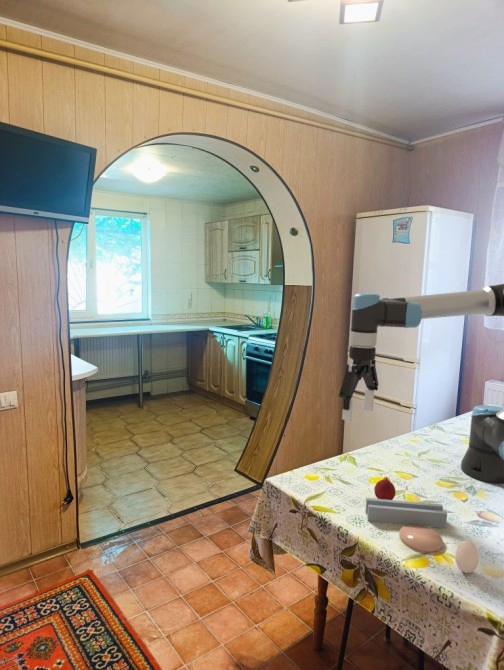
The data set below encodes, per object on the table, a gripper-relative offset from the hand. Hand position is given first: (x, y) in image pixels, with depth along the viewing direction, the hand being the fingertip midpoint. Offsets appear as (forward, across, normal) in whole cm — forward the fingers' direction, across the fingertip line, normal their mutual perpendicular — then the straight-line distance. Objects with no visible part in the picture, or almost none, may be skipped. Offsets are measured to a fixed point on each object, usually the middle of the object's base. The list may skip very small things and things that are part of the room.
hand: (357, 414), depth 131 cm
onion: (+23, +3, +11) cm, 26 cm away
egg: (+23, +18, +38) cm, 47 cm away
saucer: (+23, +13, +26) cm, 37 cm away
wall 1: (+23, +5, +18) cm, 30 cm away
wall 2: (+23, +8, +20) cm, 32 cm away
